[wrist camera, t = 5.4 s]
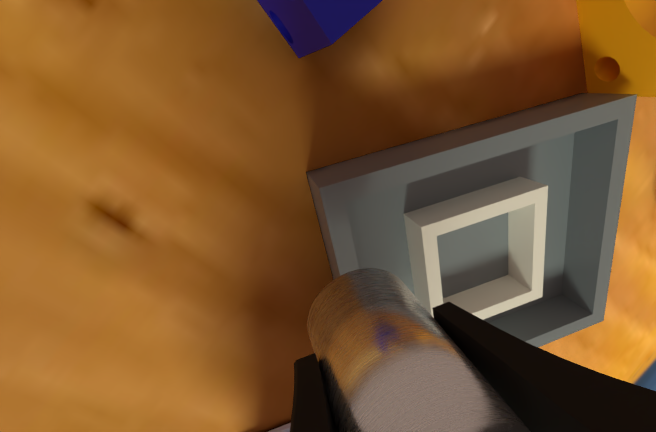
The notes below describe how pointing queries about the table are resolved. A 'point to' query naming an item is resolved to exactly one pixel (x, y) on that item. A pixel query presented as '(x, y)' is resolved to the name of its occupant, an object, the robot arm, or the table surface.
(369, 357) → the metal peg
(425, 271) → the walled tray
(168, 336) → the table surface
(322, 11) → the blue cradle block
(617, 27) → the pipe clamp
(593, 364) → the table surface
